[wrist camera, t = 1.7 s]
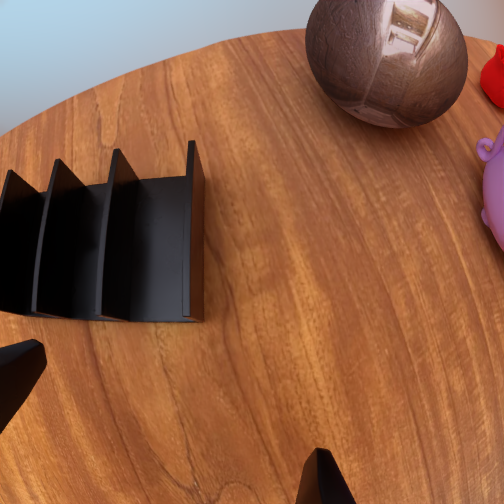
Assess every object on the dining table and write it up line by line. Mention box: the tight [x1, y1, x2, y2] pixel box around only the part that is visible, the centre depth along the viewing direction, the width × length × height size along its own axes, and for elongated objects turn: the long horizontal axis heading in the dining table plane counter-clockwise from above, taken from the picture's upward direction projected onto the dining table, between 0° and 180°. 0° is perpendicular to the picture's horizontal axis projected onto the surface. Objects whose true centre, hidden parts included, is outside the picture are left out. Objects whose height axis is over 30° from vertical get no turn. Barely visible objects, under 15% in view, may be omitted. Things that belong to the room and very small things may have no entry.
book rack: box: [0, 140, 205, 323], centre depth 22 cm, size 18×12×6 cm
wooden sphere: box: [305, 0, 468, 128], centre depth 22 cm, size 15×15×15 cm
